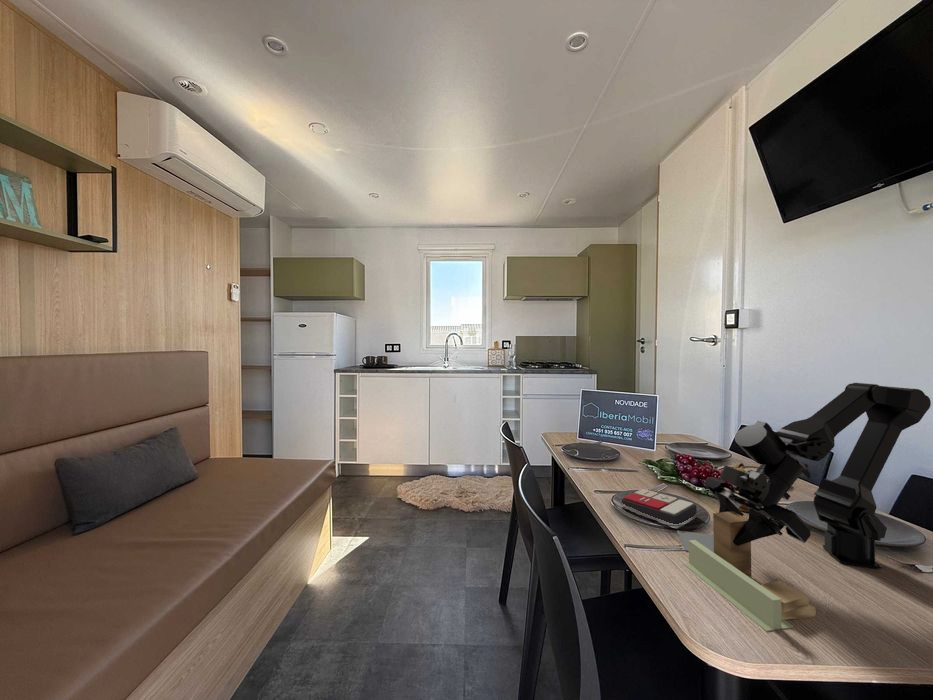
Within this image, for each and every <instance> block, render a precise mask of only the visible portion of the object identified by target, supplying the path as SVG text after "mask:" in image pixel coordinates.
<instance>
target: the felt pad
mask: <svg viewBox="0 0 933 700" xmlns="http://www.w3.org/2000/svg"><path fill="white" fill-rule="evenodd" d="M676 533H677V536H678V537H679V540H680V542H681V545H682V547H683V549H684V551H685V553H686V552H687V553H689V540H696V541H697V542H699V543H700V544H702V545H703V546H705V547H706V548H708V549H709V550H711V551H712V552H713V553H714V534H707V533H700V532H699V533H698V532H694V531H693V532H692V531H685V530H679V529H678V530H676Z"/></svg>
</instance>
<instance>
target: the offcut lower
mask: <svg viewBox="0 0 933 700" xmlns="http://www.w3.org/2000/svg"><path fill="white" fill-rule="evenodd" d="M816 609H817V608H816V607H815V606H814V605H812V604H810V603H809V606H805V607H801V608H798V609H794V610H790V611H787V612H783V611H782V610H781V620H786V621H787V620H793V619H794V620H795V619H805V618H811V617H813V618H814V617H816V613H817V610H816Z"/></svg>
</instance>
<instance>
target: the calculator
mask: <svg viewBox="0 0 933 700" xmlns="http://www.w3.org/2000/svg"><path fill="white" fill-rule="evenodd" d="M622 503H623V504H625V505H626V506H629V507H632V508H634V509H636V510H638V511H640V512H642V513H645V514H648V515H650V516H653V517H655V518H658V519H661V520H664V521H666V522H669V523H673V524H679V523H682V522H684V521H686V520H688V519H689V518H691V517H693V516H694V515H695V514H696V513H697V514H698V511H697V504H695V503H693V502H690V501H687V500H683V499H678V498H677V497H675V496H671V495H667V494H664V493H658V492H656V491H652V490H650V489H649V490H648V489H645V488H642V489H639V490H637V491H635V492H633V493H630V494H628V495H626V496H623V498H621V504H622Z"/></svg>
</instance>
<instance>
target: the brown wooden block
mask: <svg viewBox="0 0 933 700" xmlns="http://www.w3.org/2000/svg"><path fill="white" fill-rule="evenodd" d="M712 516H713V517H712V521H713V522H712V523H713V524H712V525H713V535H714V553H715V554H716V555H718V556H719V557H721V558H722V559H724V560H725V561H726V562H728V563H729V564H731V565H732V566H734V567H735V568H737V569H738V570H740V571H741V572H742V573H744V574H745V575H747V576H748V577H750V578H751V577H752V541H751V542H748V543H745V544H742V545H739V546H737V545H735V544H734V543H733V540H734V539H735V537H736V535H737V534H738V532H739V531H740V530H741V528H742V527H743V526H744V524H745V523H746V522H747V520H748V519H749V518H746V517H745V516H744V515H743V516H741V515H739V514H737V513H735V512H733V511H730V512H720V513H719V512H714V513H712Z"/></svg>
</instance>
